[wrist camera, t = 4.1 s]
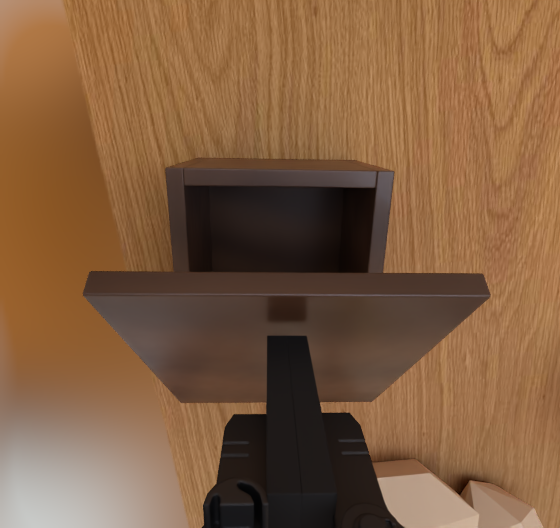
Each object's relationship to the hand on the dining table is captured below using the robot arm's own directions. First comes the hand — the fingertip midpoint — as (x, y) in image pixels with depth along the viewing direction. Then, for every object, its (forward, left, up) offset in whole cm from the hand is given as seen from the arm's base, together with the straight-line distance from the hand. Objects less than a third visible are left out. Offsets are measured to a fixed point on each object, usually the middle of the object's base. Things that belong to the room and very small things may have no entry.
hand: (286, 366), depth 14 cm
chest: (+1, 0, -19) cm, 19 cm away
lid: (+2, 0, -4) cm, 5 cm away
